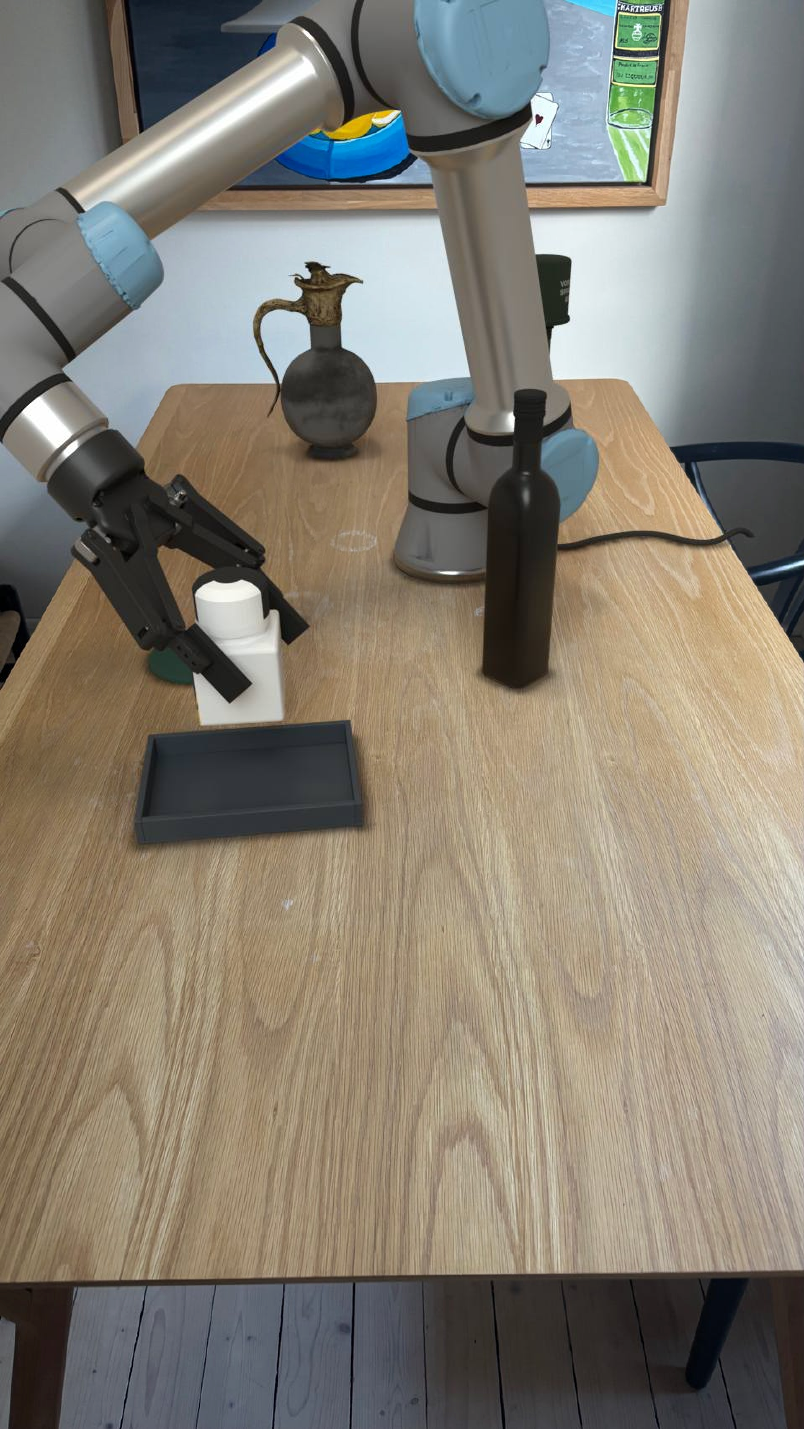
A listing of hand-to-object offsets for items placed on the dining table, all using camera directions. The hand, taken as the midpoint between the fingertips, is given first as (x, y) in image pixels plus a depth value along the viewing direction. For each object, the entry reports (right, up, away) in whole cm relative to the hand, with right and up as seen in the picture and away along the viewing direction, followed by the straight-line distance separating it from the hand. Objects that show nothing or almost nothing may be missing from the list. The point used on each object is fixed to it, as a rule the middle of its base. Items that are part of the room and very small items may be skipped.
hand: (271, 663), depth 85 cm
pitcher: (-3, +39, +86) cm, 95 cm away
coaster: (-12, +2, +29) cm, 31 cm away
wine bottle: (+23, 0, +25) cm, 34 cm away
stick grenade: (+33, +39, +85) cm, 99 cm away
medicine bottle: (-3, -3, +4) cm, 6 cm away
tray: (-3, -11, +8) cm, 14 cm away
